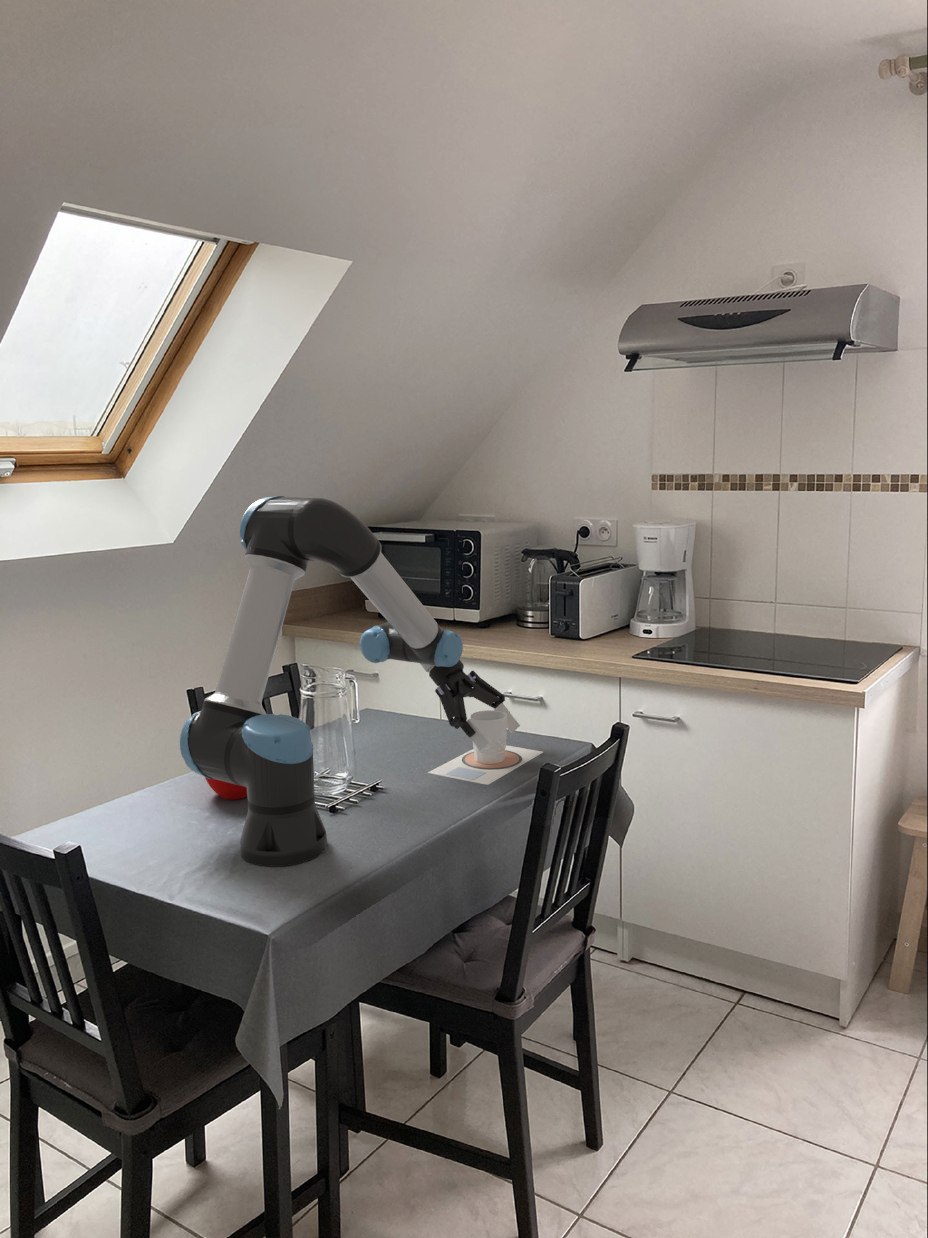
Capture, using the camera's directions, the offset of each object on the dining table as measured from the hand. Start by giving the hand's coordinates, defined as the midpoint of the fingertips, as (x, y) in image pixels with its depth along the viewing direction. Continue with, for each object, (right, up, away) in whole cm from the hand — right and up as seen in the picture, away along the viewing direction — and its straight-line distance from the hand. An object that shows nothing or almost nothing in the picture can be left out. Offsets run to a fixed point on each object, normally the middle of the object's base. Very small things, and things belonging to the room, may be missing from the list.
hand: (500, 738), depth 221 cm
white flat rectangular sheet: (-3, -6, +1) cm, 7 cm away
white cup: (-2, -5, +2) cm, 6 cm away
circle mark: (-2, -5, +2) cm, 6 cm away
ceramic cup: (-53, -10, -11) cm, 55 cm away
